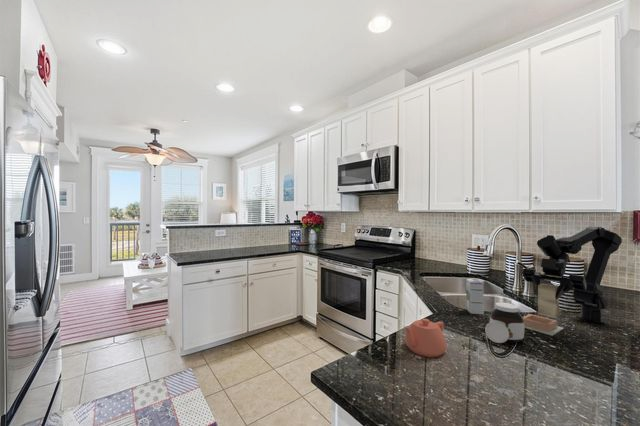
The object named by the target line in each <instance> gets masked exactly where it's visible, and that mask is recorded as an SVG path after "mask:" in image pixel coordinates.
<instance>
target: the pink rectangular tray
mask: <svg viewBox="0 0 640 426" xmlns="http://www.w3.org/2000/svg"><path fill="white" fill-rule="evenodd" d="M522 318H523V320H524V329H527V330H532V331H536V332H537V333H538V332H539V333H542V334H545V335H548V336H552V337H553V336H554V335H556V334H558V333H560V331H562V330H564V327H563V326H559V325H558V320H556V319H552V318H549V317H545V316H541V315H540V316H539V315H535V314H532V313H528V314H526V315H524V316H522Z"/></svg>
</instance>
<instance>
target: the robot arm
mask: <svg viewBox="0 0 640 426" xmlns="http://www.w3.org/2000/svg"><path fill="white" fill-rule="evenodd" d="M589 242H591V246H592V247H593V249H594V252H593V253H592V257H591V259H590V263H589V266H588V268H587V271H586V274H585V277H584V275H579V274H573V273H572V274H570V273H569V275H568V277H564V275H565V274H566V268H567V264H570V263H571V259H570V257H569V256H570V255H576V254H578V253H579V252H580V251H582V249H583V248H582V247H583V246H584V245H586V244H588V243H589ZM622 242H623V240H622V237H621V236H620V235H618V234H617V233H616V232H614V231H611V230H607V229H605V228H604V227H601V226H588V227H586V228H585V229H583V230H581V231H579V232H577V233H575V234H574V235H571V236H567V237H560V238H555V236H554V235H553V234H547V236H545V237H541V238H539V239H538V240H537V241H536V246H537V247H539V249H540V250H541V253H543V254H544V255H545V256H546V257H548V258H541V262H540V267H541V268H542V269H541V271H542V272H543V273H541V272H539V271H536V268H535V269H534V268H523V269H522V271H521V274H522V276H523V279H524V281H526V282H529V283H533V284H534V285H536V286H535V287H536V292H537V294H538V285H540V284H544V282H543V280H544V281H549V282H556V283H559V285H558V286H559V287H558V290H557V292H556V297H555V298H556V299H558V298H559V299H560V298H561V297H562V296H563V295H564V294H566V293H569V292H570V291H573V292H572V296H573V299H574V303H575V304H578V305H580V315H576V318H578V319H581V320H582V321H584V322H585V323H593V324H594V323H596V324H606V322H605V321H603V320H602V312H601V311H602V310H606V309H607V307H608V302H607V301H606V299H605V298H604V296H603V295H604V292H603V290H602V287H601V282H602V279H603V276H604V273H605V271H606V268H607V266H608V262H609V259H610V256H611V255H612V254H613V253H615V252H616V251H618V250H619V248H620V246H621V244H622ZM569 254H570V255H569Z"/></svg>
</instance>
